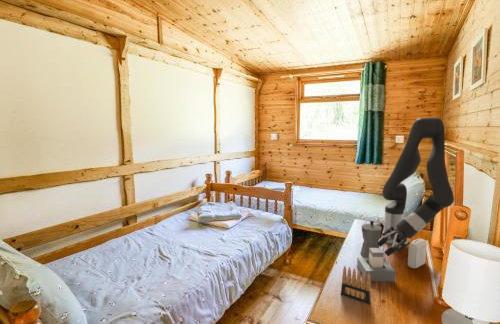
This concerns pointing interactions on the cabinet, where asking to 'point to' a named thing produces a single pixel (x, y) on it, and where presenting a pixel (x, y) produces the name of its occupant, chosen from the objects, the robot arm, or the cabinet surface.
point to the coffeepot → (371, 237)
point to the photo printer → (417, 253)
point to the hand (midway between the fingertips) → (382, 249)
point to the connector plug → (376, 258)
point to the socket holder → (376, 270)
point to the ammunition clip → (356, 286)
